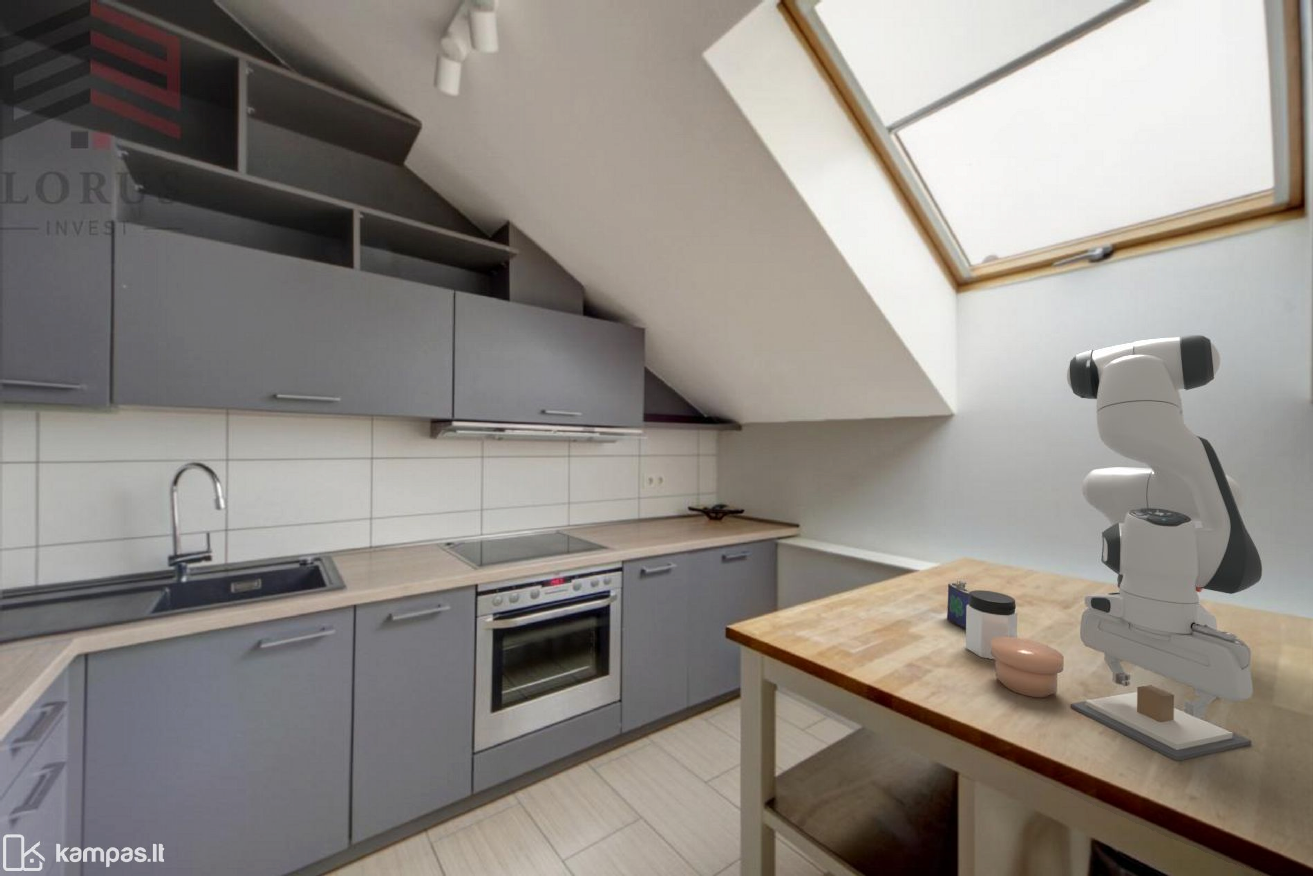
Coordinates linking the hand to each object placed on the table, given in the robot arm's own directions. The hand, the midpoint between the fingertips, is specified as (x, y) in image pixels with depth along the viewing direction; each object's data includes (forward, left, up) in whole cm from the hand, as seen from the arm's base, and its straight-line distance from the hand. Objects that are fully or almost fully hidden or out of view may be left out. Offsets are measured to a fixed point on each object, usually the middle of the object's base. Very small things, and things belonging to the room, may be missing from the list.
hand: (1155, 699), depth 78 cm
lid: (0, 0, -4) cm, 4 cm away
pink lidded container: (+9, -14, -4) cm, 17 cm away
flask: (-5, -41, -4) cm, 42 cm away
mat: (0, 0, -4) cm, 4 cm away
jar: (+2, -27, -4) cm, 27 cm away
